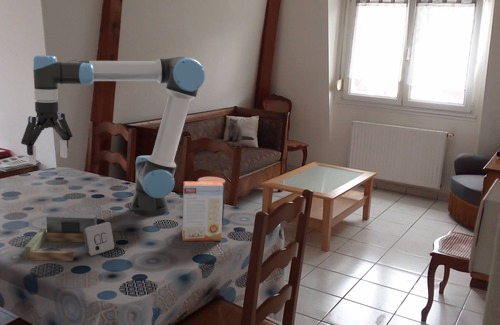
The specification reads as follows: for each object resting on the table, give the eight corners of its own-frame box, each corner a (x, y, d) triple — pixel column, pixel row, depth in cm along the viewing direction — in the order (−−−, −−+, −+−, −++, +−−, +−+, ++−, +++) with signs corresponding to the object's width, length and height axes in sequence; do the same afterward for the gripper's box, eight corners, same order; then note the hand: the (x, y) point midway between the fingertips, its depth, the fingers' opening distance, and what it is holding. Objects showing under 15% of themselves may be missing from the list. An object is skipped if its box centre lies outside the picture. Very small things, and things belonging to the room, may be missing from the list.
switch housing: (97, 235, 183) (97, 214, 182) (94, 240, 179) (93, 218, 177) (50, 234, 182) (50, 212, 180) (46, 239, 177) (46, 217, 176)
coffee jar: (196, 219, 207) (198, 176, 203) (222, 220, 208) (225, 177, 204) (195, 228, 196) (197, 183, 192) (223, 229, 197) (225, 184, 193)
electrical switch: (90, 257, 166) (89, 229, 164) (81, 253, 169) (79, 226, 167) (115, 249, 173) (113, 222, 171) (105, 246, 176) (104, 220, 175)
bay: (85, 240, 179) (85, 229, 178) (72, 260, 162) (72, 248, 161) (41, 239, 177) (41, 228, 176) (24, 259, 161) (24, 247, 160)
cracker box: (219, 235, 191) (222, 180, 187) (221, 241, 186) (224, 185, 181) (181, 235, 189) (183, 180, 184) (182, 241, 183) (184, 184, 179)
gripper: (66, 97, 191) (68, 153, 196) (7, 102, 169) (11, 165, 174) (81, 99, 187) (82, 156, 192) (23, 104, 166) (26, 168, 171)
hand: (48, 160), depth 183 cm, fingers open, 13 cm apart
